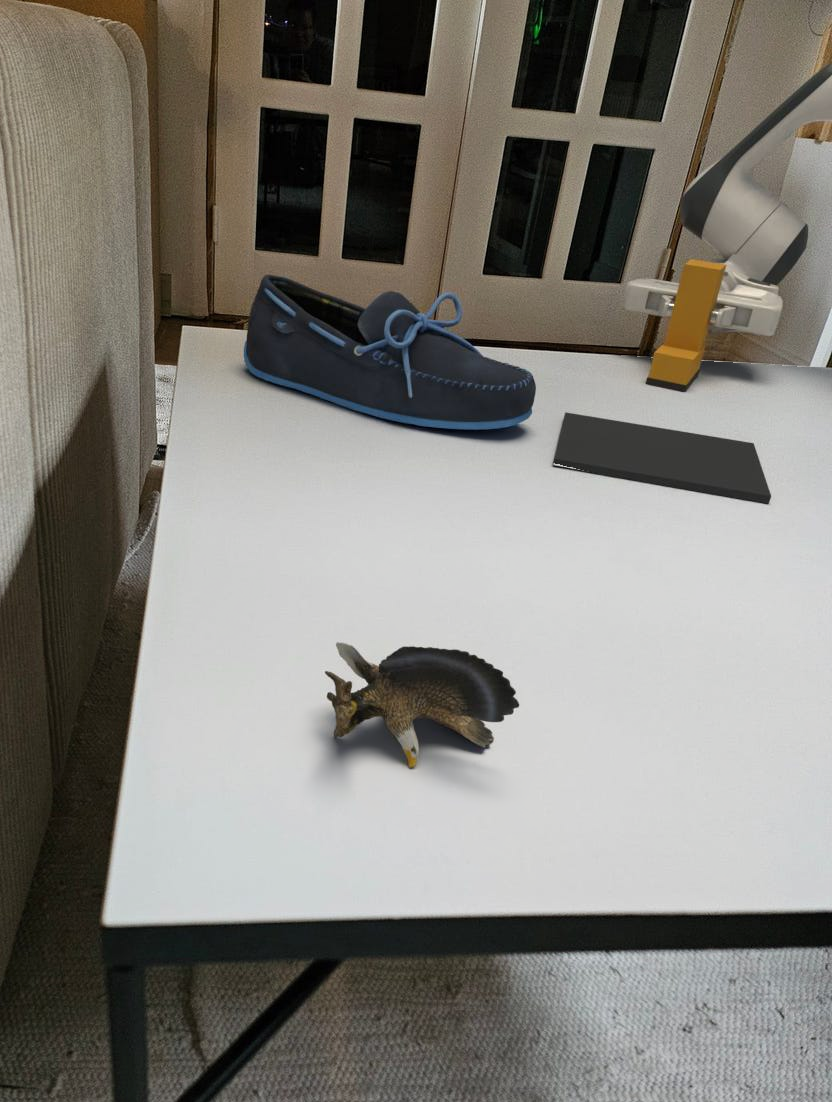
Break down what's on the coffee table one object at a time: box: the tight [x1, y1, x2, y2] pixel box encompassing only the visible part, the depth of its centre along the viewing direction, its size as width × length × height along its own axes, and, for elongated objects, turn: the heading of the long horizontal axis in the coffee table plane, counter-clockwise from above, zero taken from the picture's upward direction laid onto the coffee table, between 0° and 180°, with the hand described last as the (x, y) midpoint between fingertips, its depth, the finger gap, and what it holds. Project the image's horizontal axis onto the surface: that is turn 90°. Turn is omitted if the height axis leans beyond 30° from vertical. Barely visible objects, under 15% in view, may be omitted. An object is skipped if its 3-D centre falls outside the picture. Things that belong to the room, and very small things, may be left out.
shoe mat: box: [552, 411, 772, 505], centre depth 95 cm, size 20×16×1 cm
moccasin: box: [243, 274, 537, 430], centre depth 100 cm, size 14×34×12 cm, turn 65°
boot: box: [645, 258, 726, 393], centre depth 119 cm, size 10×5×14 cm, turn 153°
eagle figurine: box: [324, 641, 520, 768], centre depth 49 cm, size 8×7×9 cm
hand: (691, 314), depth 120 cm, fingers closed on boot, 4 cm apart
